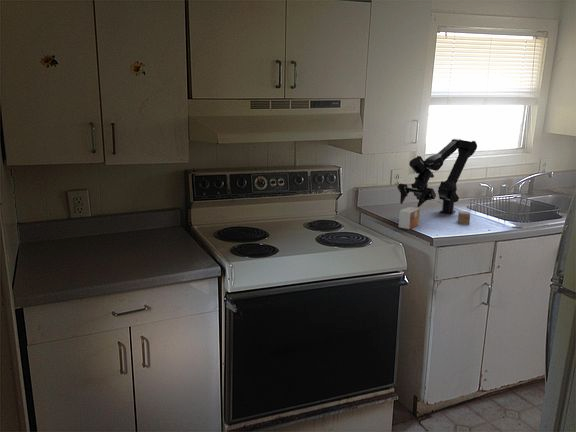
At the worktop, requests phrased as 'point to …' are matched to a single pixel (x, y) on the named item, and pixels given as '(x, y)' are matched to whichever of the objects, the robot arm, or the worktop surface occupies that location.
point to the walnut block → (463, 217)
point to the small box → (409, 218)
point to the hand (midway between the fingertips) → (409, 205)
